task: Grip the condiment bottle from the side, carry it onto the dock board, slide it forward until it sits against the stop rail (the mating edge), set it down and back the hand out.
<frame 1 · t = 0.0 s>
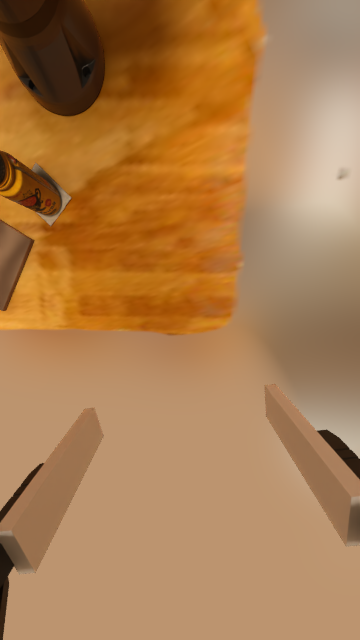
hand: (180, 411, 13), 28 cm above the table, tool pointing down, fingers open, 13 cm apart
condiment: (45, 196, 35), on the table
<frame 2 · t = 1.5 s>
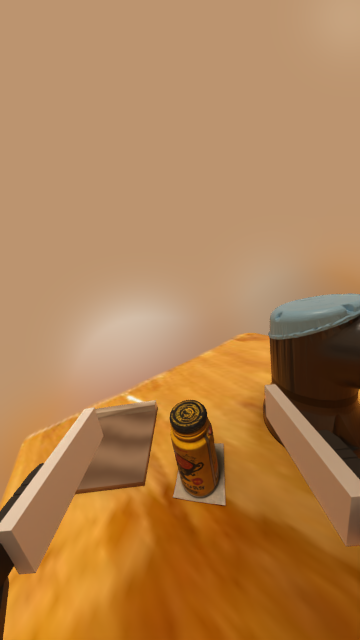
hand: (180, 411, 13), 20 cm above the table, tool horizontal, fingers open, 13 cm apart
condiment: (201, 469, 27), on the table
dock board: (109, 443, 35), on the table
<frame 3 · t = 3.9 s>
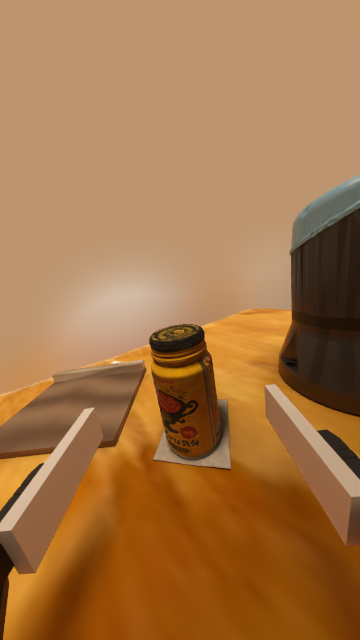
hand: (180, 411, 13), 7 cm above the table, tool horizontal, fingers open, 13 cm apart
condiment: (196, 428, 20), on the table
dock board: (80, 403, 27), on the table
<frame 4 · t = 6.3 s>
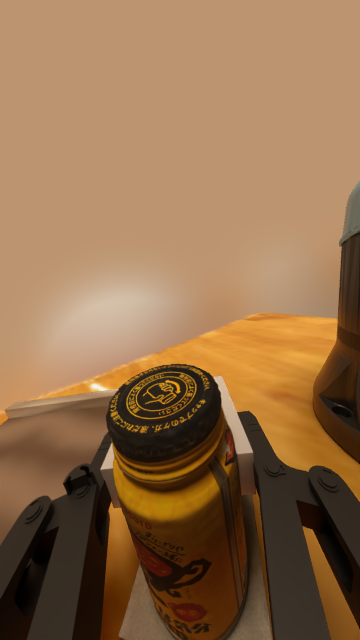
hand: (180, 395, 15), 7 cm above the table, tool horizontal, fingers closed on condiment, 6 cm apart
condiment: (201, 534, 12), on the table, touching gripper
dock board: (29, 461, 19), on the table
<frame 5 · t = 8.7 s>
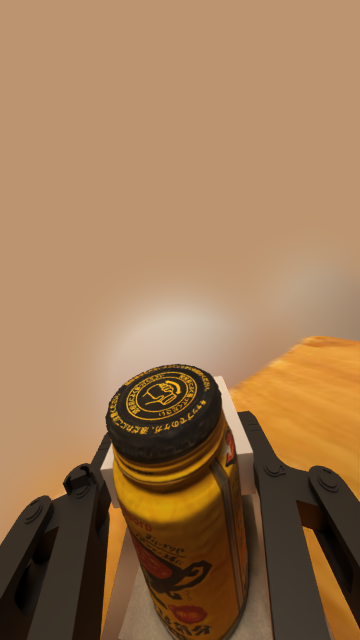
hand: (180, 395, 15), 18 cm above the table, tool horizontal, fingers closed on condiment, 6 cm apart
condiment: (201, 535, 12), point 11 cm above the table, touching gripper
dock board: (204, 543, 18), on the table
when the fingers open (9 cm above the table, at t = 11.6 s): condiment stays where it is, resting on dock board.
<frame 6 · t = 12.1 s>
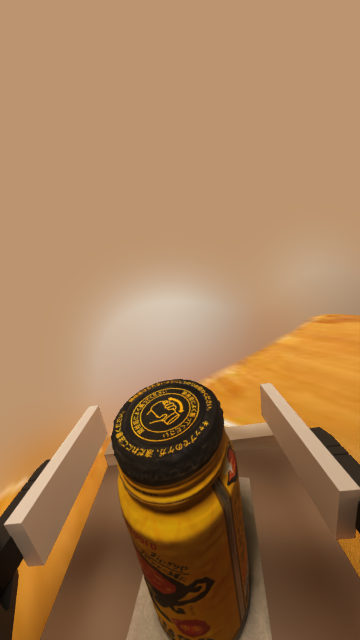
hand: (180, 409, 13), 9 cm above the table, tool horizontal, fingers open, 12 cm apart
condiment: (203, 545, 12), point 1 cm above the table, touching dock board
dock board: (200, 564, 11), on the table
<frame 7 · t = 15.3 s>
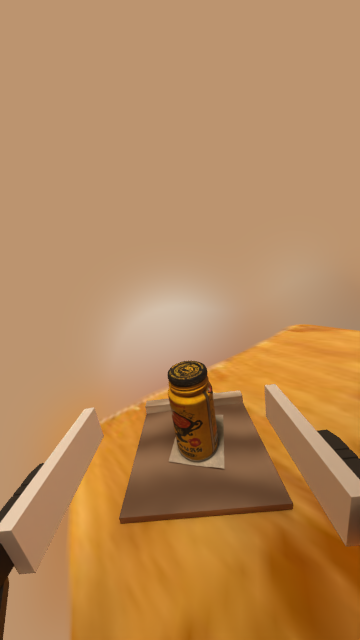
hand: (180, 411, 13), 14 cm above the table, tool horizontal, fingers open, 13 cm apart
condiment: (199, 437, 26), point 1 cm above the table, touching dock board
dock board: (197, 444, 26), on the table
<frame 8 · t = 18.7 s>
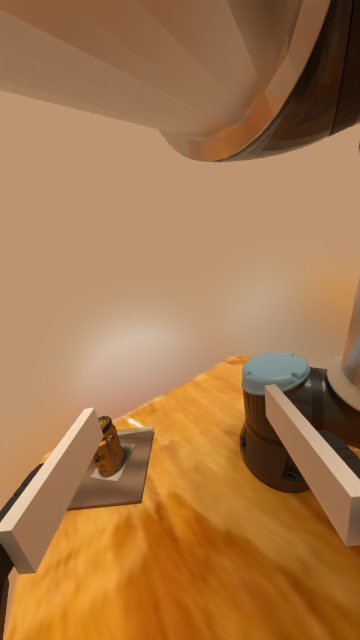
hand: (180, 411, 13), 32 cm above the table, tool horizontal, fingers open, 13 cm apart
condiment: (114, 461, 42), point 1 cm above the table, touching dock board
dock board: (113, 465, 42), on the table
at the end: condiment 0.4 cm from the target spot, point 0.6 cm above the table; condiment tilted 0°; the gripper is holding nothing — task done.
